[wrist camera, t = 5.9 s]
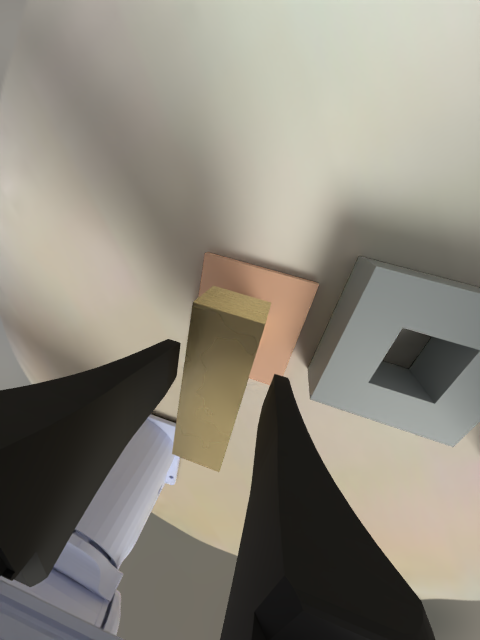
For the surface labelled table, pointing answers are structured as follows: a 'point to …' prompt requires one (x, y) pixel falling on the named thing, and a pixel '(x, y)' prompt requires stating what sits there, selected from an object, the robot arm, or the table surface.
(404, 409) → the slate socket block
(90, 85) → the table surface
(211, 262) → the terracotta pad
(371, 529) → the table surface
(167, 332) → the table surface
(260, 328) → the brass rectangular peg
